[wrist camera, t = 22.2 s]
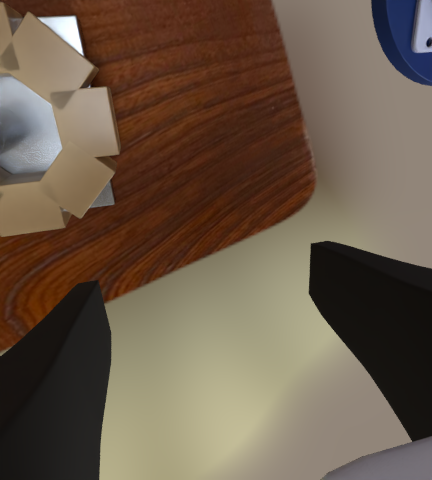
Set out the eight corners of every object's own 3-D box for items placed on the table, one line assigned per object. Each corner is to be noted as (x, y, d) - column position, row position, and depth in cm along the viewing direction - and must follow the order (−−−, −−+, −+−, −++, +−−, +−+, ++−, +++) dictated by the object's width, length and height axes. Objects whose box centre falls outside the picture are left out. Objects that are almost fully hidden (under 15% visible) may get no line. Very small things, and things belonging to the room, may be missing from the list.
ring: (96, 10, 16) (90, -3, 13) (131, 204, 19) (131, 218, 17) (-138, 20, 14) (-187, 7, 12) (-50, 229, 18) (-75, 247, 16)
